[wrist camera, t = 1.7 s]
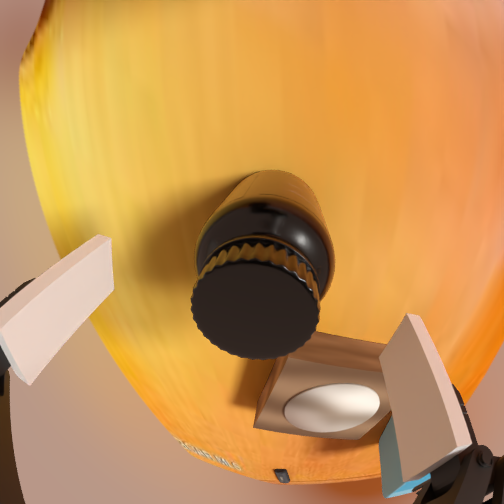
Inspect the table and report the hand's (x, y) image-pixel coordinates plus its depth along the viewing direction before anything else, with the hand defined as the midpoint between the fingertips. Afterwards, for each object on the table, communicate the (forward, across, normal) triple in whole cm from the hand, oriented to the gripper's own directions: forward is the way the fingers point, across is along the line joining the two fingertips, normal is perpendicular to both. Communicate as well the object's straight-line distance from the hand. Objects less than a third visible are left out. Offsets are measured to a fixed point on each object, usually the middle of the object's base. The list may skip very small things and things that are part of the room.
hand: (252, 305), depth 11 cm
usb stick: (+12, +17, -54) cm, 58 cm away
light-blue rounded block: (+11, +27, -25) cm, 39 cm away
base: (+11, +11, -16) cm, 23 cm away
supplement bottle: (+11, 0, +1) cm, 11 cm away
